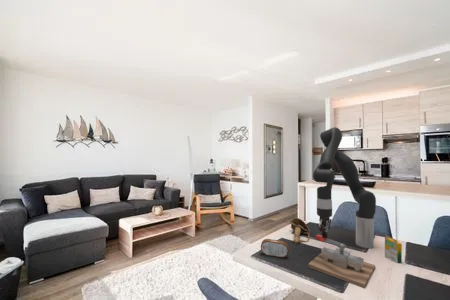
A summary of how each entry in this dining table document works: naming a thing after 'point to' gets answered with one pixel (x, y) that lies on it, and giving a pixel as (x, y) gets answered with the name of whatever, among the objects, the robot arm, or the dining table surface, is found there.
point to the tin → (275, 248)
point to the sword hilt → (299, 229)
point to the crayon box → (393, 249)
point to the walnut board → (343, 271)
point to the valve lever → (330, 242)
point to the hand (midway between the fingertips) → (324, 238)
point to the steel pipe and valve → (342, 258)
